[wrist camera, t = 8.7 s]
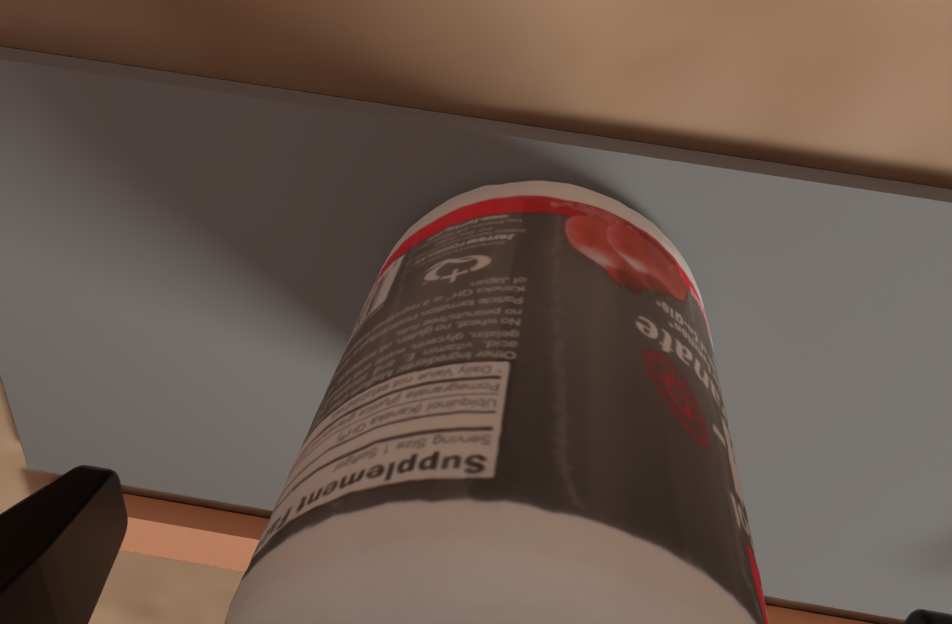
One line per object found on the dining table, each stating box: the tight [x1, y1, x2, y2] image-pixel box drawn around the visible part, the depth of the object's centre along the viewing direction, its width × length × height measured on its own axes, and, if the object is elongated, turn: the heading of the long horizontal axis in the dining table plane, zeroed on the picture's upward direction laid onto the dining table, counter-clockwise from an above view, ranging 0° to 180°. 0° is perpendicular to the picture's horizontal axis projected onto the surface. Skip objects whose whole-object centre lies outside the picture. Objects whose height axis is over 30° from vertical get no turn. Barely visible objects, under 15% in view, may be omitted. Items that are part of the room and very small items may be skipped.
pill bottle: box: [224, 181, 769, 624], centre depth 9 cm, size 5×5×10 cm
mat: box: [0, 46, 952, 620], centre depth 14 cm, size 9×20×1 cm, turn 84°
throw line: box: [48, 481, 874, 624], centre depth 18 cm, size 1×20×1 cm, turn 84°
